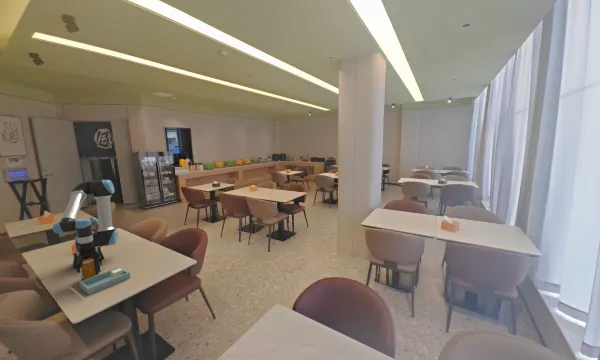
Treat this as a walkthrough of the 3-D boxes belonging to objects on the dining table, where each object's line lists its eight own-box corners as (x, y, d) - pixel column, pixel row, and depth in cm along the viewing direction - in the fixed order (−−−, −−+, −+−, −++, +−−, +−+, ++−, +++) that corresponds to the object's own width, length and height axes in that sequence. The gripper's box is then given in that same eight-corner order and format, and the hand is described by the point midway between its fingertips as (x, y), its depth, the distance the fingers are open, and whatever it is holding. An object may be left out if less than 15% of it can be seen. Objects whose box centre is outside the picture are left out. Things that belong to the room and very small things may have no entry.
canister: (89, 276, 164) (85, 249, 161) (106, 275, 164) (102, 248, 162) (78, 283, 155) (74, 255, 152) (96, 282, 156) (92, 254, 153)
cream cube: (111, 278, 159) (110, 271, 158) (120, 274, 163) (119, 268, 162) (114, 280, 156) (113, 273, 155) (123, 276, 160) (122, 269, 160)
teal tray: (80, 288, 149) (78, 281, 149) (120, 272, 168) (119, 266, 167) (89, 295, 141) (88, 289, 140) (130, 278, 159) (129, 272, 159)
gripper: (65, 248, 145) (70, 282, 147) (107, 237, 163) (112, 267, 165) (61, 246, 149) (67, 279, 151) (103, 235, 167) (107, 265, 169)
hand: (90, 273), depth 158 cm, fingers closed on canister, 9 cm apart
